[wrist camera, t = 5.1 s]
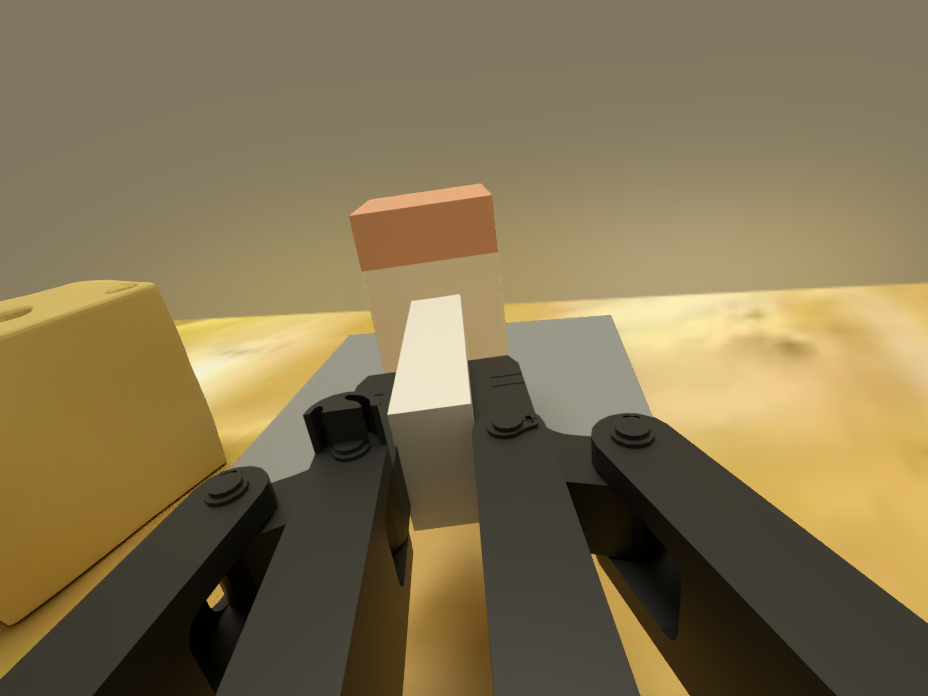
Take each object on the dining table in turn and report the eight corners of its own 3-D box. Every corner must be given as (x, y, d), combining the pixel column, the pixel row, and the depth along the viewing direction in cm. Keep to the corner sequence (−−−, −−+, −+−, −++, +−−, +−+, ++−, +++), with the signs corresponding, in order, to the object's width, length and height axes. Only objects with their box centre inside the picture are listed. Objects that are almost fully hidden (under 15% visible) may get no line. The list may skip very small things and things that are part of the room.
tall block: (406, 470, 21) (348, 215, 17) (413, 411, 25) (369, 199, 21) (519, 455, 21) (491, 195, 16) (505, 398, 25) (481, 183, 21)
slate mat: (214, 501, 22) (209, 490, 21) (351, 342, 38) (349, 335, 38) (679, 495, 18) (680, 483, 18) (610, 322, 34) (610, 315, 34)
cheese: (117, 435, 29) (37, 277, 25) (244, 461, 25) (170, 274, 21) (-121, 572, 21) (-301, 366, 17) (5, 650, 16) (-200, 392, 12)
